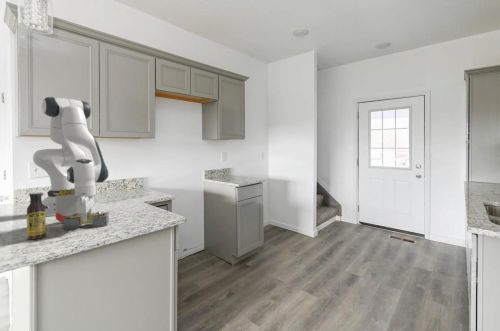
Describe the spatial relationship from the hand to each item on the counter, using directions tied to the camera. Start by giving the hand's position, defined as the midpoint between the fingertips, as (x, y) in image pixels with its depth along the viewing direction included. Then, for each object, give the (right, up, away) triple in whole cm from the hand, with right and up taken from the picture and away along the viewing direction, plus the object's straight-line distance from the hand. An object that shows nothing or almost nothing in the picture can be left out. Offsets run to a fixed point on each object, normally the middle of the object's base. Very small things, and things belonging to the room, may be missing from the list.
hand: (87, 218), depth 124 cm
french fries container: (-14, -3, +7) cm, 16 cm away
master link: (0, -2, 0) cm, 2 cm away
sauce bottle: (-12, -5, -16) cm, 20 cm away
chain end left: (-6, -4, -2) cm, 7 cm away
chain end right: (+5, -4, +3) cm, 7 cm away
